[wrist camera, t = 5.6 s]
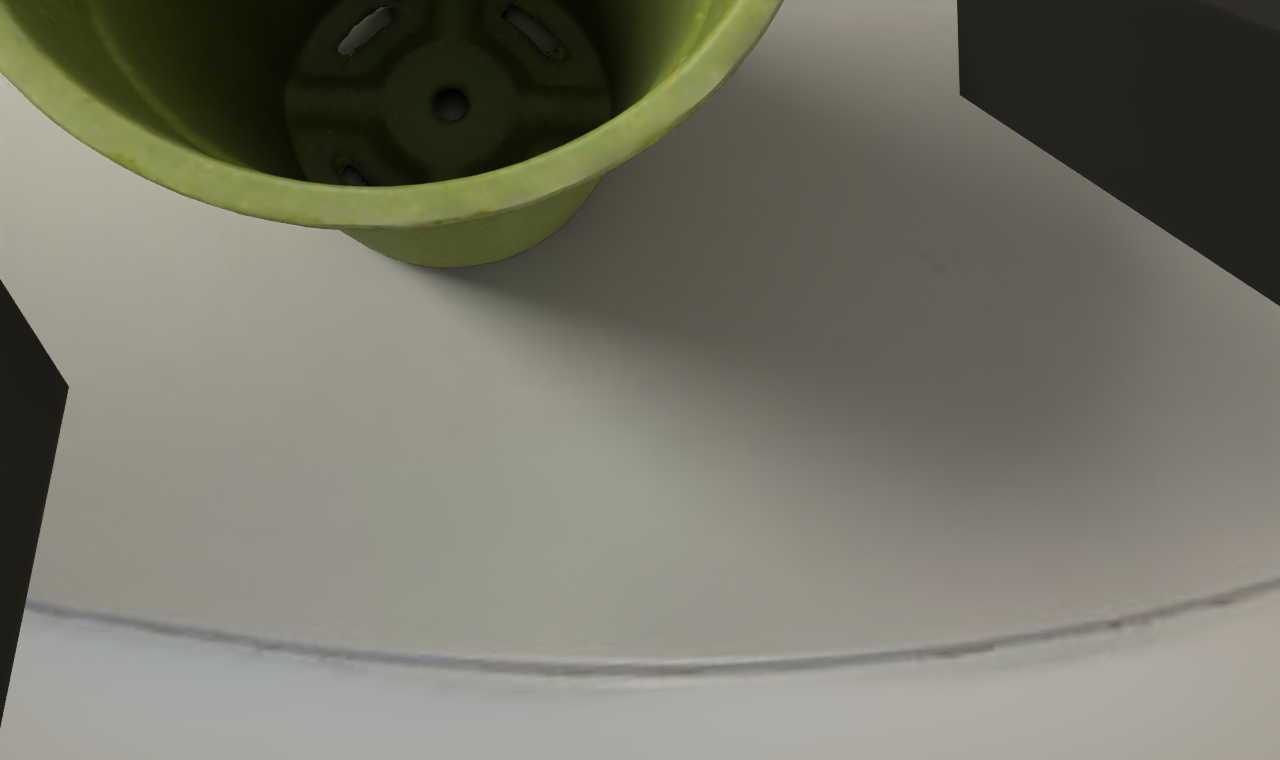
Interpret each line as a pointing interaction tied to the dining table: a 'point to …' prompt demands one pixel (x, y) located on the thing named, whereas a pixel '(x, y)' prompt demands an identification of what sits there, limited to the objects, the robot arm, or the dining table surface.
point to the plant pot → (378, 104)
